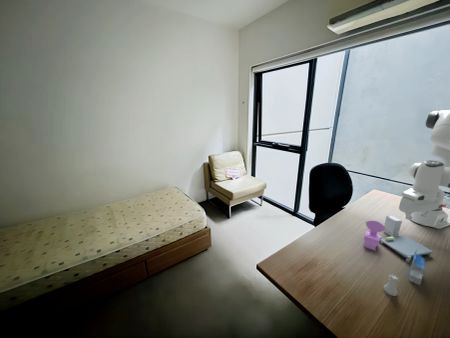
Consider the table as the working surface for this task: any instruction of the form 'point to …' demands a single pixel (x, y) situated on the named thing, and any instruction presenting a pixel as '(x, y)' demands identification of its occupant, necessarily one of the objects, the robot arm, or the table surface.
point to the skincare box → (392, 226)
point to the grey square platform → (409, 256)
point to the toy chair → (373, 234)
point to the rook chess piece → (391, 285)
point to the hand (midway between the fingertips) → (415, 217)
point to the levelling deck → (405, 246)
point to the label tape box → (417, 269)
